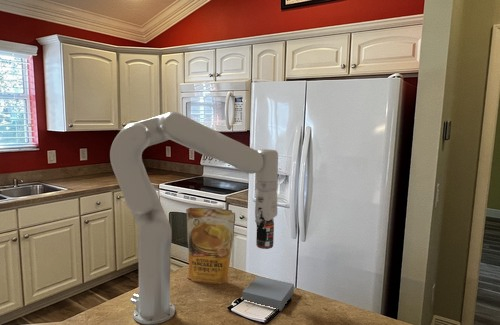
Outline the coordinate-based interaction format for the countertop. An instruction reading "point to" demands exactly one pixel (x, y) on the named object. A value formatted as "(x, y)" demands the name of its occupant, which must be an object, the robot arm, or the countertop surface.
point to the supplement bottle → (267, 236)
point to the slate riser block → (269, 292)
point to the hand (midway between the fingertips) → (265, 236)
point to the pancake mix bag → (209, 244)
